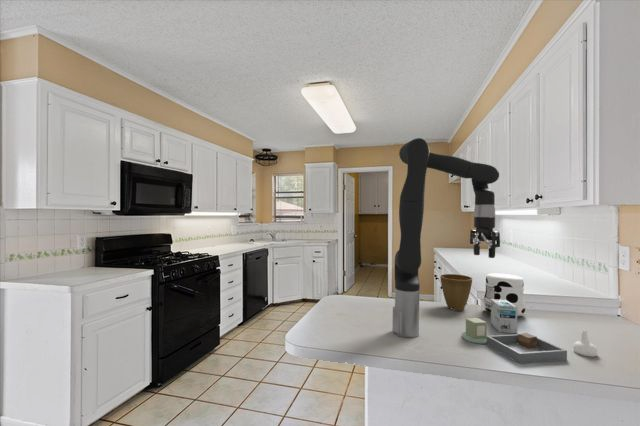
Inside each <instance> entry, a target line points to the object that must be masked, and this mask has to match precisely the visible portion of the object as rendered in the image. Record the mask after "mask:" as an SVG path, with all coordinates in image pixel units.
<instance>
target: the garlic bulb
mask: <svg viewBox="0 0 640 426" xmlns="http://www.w3.org/2000/svg"><path fill="white" fill-rule="evenodd" d="M587 332H588V330H582V332H581V337H580V340H578V341H575V342H574V343H573V345H572V347H573V348H572V349H573V351H574V352H575V353H576V354H578V355H581V356H584V357H590V358H592V357H593V358H594V357H597V356H598V353H599V352H598V348H597V347H596V346H595V345H594V344H593V343H591V342H590V341H589V337H588V333H587Z"/></svg>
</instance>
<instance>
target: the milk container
mask: <svg viewBox="0 0 640 426" xmlns="http://www.w3.org/2000/svg"><path fill="white" fill-rule="evenodd" d="M524 285H525V282H524V278H523V277H521V276H518V275H513V274H508V273H507V274H506V273H487V274H486V276H485V294H484V295H483V301H482V302H483V308H484V310H486V311H487V312H488V313H490V314H491V299H497V300H507V301H509V302H510V303H512V304H513V305H515V306H517V318H519V317H520V318H521V317H523V316H524V315H525V313H526V301H525V298H524V289H525V288H524Z"/></svg>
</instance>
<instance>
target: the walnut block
mask: <svg viewBox="0 0 640 426" xmlns="http://www.w3.org/2000/svg"><path fill="white" fill-rule="evenodd" d="M517 334H518V343H517V345H518V346H520V347H522V348H525V349H528V350H533V349H537V348H538V347H537V338H538V336H536V335H534V334H531V333H528V332H521V333H517Z"/></svg>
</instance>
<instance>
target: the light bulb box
mask: <svg viewBox="0 0 640 426" xmlns="http://www.w3.org/2000/svg"><path fill="white" fill-rule="evenodd" d="M490 324H491V325H492V326H493V327H494V328H495V329H496V330H497V331H498V332H499V333H509V334H518V317H517V306H515V305H513V304H512V303H510V302H509V301H507V300H497V299H491V313H490Z"/></svg>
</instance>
